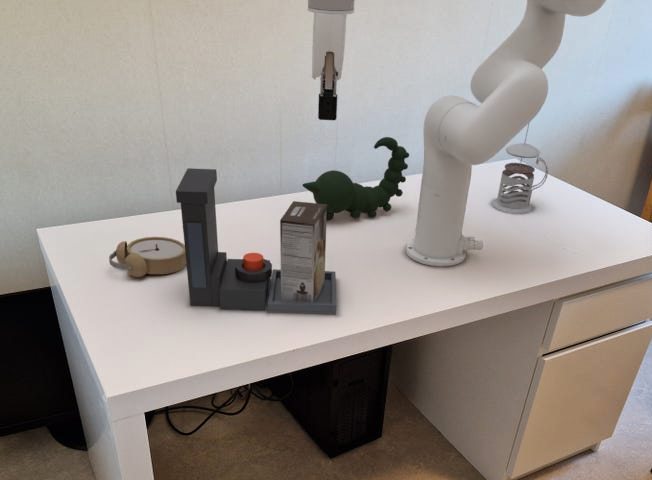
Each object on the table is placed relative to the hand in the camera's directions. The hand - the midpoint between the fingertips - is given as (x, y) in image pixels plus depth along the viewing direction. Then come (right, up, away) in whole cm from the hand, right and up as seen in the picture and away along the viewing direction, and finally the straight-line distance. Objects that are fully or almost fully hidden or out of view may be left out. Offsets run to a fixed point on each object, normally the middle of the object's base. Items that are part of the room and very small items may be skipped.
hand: (327, 118), depth 117 cm
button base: (-15, -30, +6) cm, 34 cm away
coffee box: (-5, -30, +6) cm, 31 cm away
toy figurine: (+5, -9, +39) cm, 40 cm away
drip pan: (-5, -31, +7) cm, 32 cm away
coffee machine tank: (-23, -30, +6) cm, 38 cm away
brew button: (-13, -26, +3) cm, 29 cm away
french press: (+46, -4, +49) cm, 67 cm away
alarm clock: (-35, -24, +14) cm, 45 cm away
